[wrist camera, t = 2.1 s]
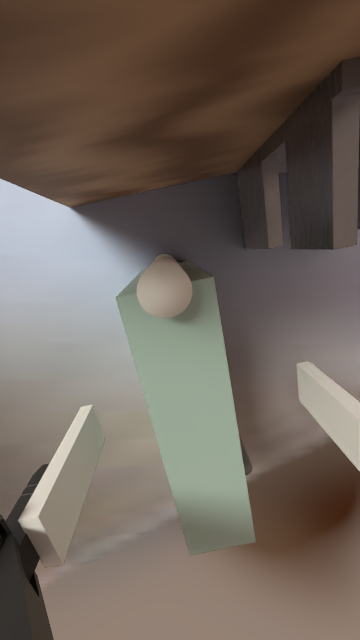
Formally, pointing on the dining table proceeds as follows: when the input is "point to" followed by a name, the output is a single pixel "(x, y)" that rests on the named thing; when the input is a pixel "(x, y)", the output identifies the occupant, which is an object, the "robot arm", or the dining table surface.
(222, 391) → the door
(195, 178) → the cabinet
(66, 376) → the dining table surface
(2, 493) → the dining table surface
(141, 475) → the dining table surface
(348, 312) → the dining table surface
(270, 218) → the grey open frame
